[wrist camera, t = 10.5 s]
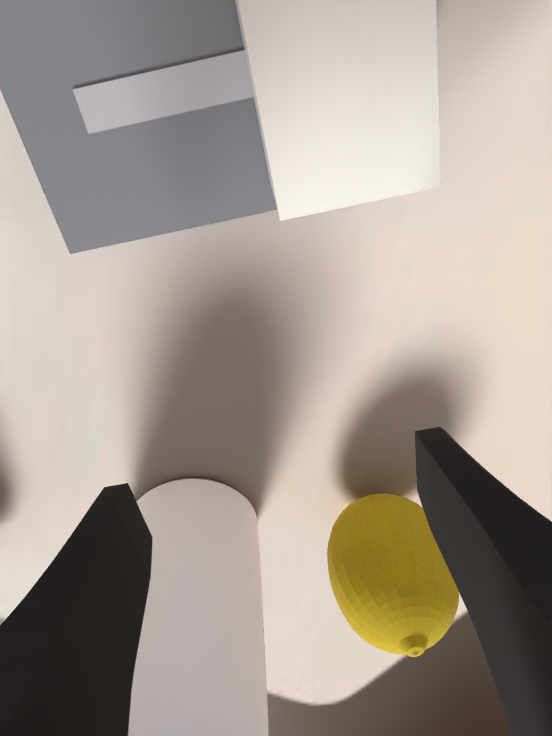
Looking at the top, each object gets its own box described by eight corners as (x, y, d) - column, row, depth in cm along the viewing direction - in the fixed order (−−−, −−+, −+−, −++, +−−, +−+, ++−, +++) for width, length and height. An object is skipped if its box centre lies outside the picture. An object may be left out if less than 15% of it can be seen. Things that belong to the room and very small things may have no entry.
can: (120, 475, 25) (45, 773, 15) (257, 469, 26) (272, 755, 15) (138, 563, 29) (86, 854, 18) (258, 557, 29) (272, 838, 19)
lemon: (309, 470, 26) (337, 625, 19) (422, 450, 26) (490, 599, 19) (324, 544, 29) (352, 700, 22) (425, 526, 29) (485, 678, 22)
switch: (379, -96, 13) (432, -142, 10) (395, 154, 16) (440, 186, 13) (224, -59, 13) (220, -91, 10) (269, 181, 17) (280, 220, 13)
